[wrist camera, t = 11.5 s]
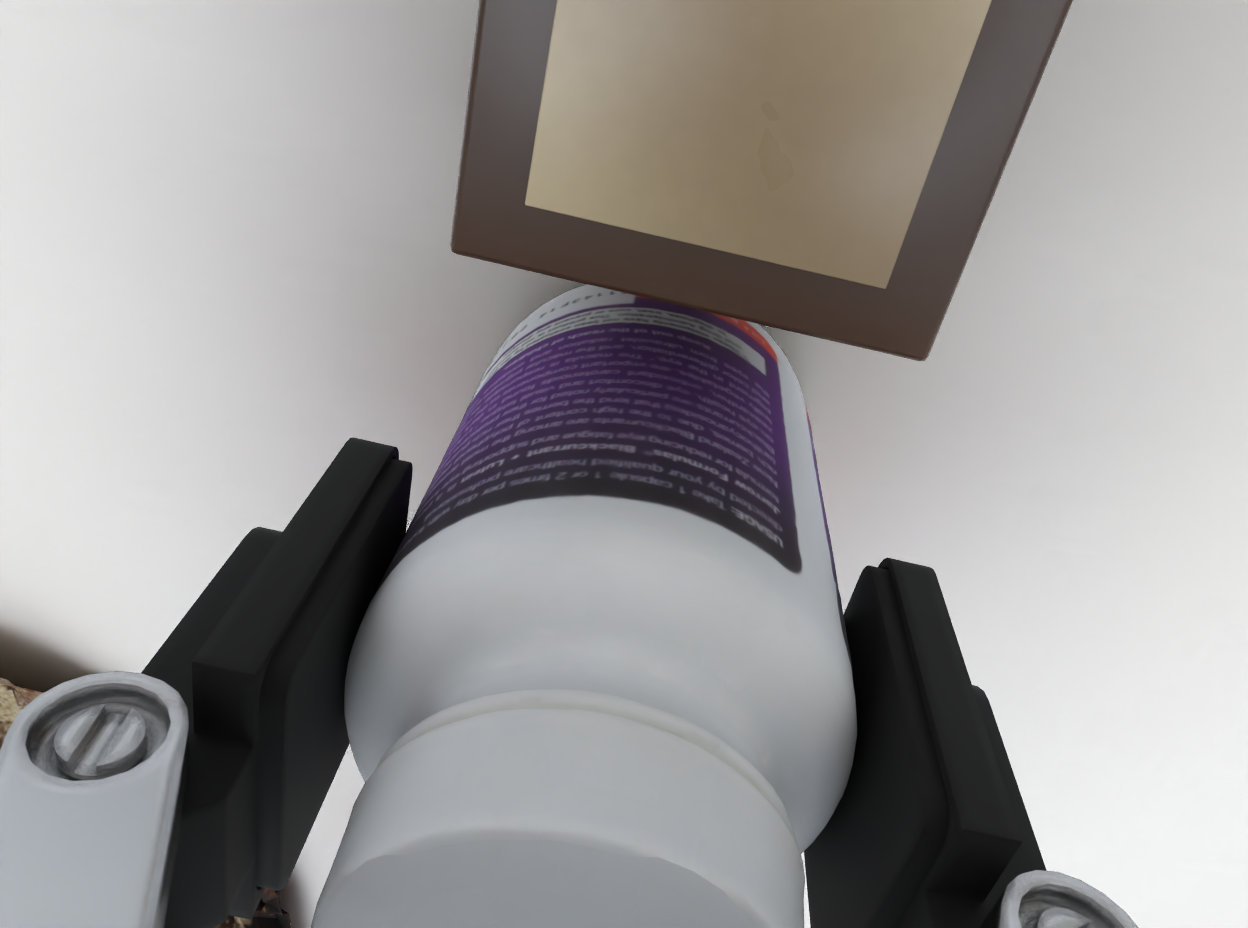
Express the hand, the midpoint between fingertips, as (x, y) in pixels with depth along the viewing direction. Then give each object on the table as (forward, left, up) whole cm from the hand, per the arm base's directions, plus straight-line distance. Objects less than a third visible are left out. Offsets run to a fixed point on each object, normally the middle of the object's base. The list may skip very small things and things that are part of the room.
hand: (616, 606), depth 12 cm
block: (-6, 0, -5) cm, 8 cm away
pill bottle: (0, 0, -5) cm, 5 cm away
